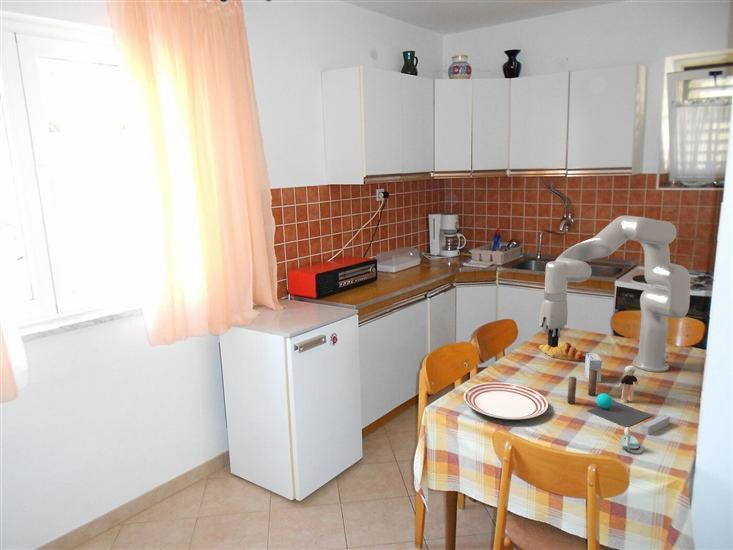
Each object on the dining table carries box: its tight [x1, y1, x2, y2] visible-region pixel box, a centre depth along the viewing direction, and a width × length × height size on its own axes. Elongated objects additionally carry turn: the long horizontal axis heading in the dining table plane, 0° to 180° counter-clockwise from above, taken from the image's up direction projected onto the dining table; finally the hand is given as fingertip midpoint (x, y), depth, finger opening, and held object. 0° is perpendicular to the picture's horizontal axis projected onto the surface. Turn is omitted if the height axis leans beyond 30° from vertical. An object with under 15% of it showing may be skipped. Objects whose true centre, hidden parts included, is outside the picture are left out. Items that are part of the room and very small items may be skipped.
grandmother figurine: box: [617, 365, 639, 404], centre depth 185 cm, size 8×4×13 cm, turn 118°
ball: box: [595, 392, 614, 409], centre depth 181 cm, size 5×5×5 cm
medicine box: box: [584, 352, 603, 383], centre depth 205 cm, size 8×4×9 cm, turn 168°
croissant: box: [538, 341, 586, 362], centre depth 229 cm, size 21×10×8 cm, turn 43°
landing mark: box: [586, 399, 653, 428], centre depth 177 cm, size 14×14×1 cm
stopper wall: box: [640, 413, 671, 435], centre depth 167 cm, size 12×2×2 cm, turn 123°
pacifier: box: [619, 427, 644, 454], centre depth 155 cm, size 7×6×6 cm
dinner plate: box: [463, 381, 549, 420], centre depth 183 cm, size 27×27×3 cm
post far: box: [567, 376, 577, 405], centre depth 185 cm, size 2×2×9 cm
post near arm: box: [587, 369, 597, 397], centre depth 191 cm, size 2×2×9 cm
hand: (552, 346), depth 196 cm, fingers closed
